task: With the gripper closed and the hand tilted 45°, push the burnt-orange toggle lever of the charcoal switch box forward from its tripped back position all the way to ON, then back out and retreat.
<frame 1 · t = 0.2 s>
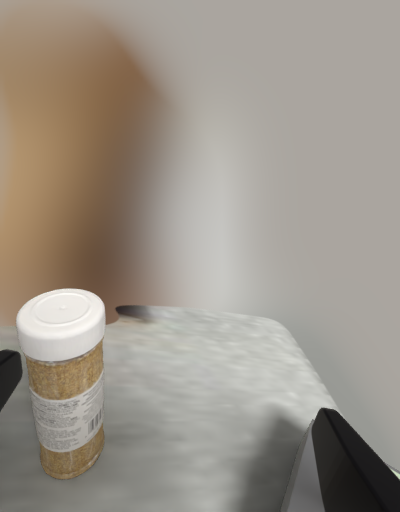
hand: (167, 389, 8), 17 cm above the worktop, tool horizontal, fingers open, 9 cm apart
sprinkles bottle: (73, 450, 21), on the worktop
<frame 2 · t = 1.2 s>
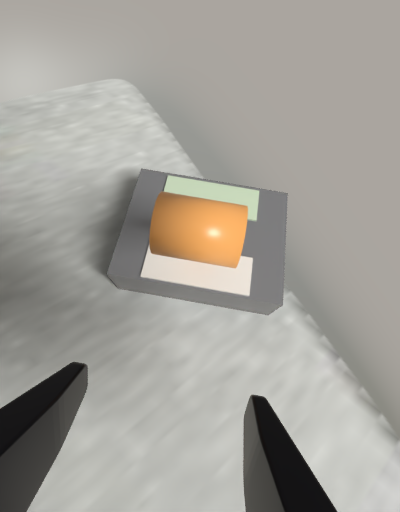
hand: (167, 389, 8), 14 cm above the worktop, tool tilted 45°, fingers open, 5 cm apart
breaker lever: (202, 232, 15), point 9 cm above the worktop, hinge at -28.0°
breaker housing: (201, 254, 25), on the worktop
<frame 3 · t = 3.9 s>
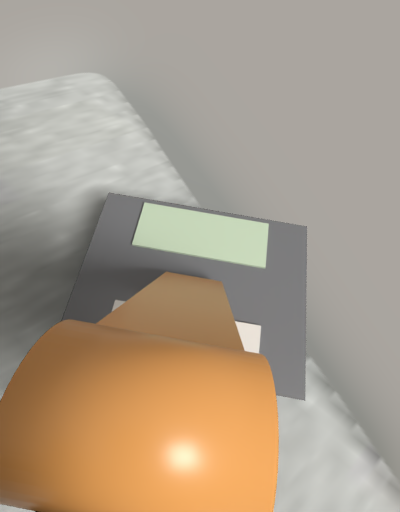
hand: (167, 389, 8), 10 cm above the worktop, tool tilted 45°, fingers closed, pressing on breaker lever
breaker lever: (181, 321, 9), point 9 cm above the worktop, hinge at -26.7°, touching gripper
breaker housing: (190, 305, 19), on the worktop
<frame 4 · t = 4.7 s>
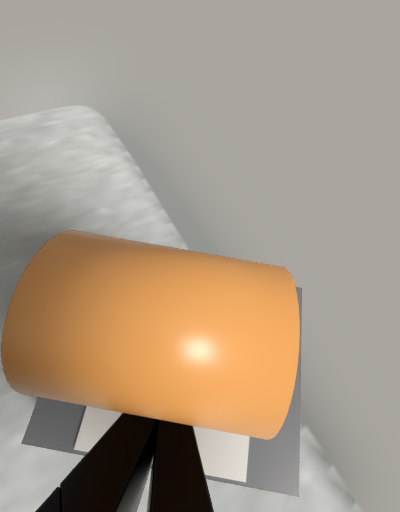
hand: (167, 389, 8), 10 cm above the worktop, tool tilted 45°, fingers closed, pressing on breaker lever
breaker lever: (174, 354, 8), point 10 cm above the worktop, hinge at 2.0°, touching gripper
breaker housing: (179, 366, 18), on the worktop
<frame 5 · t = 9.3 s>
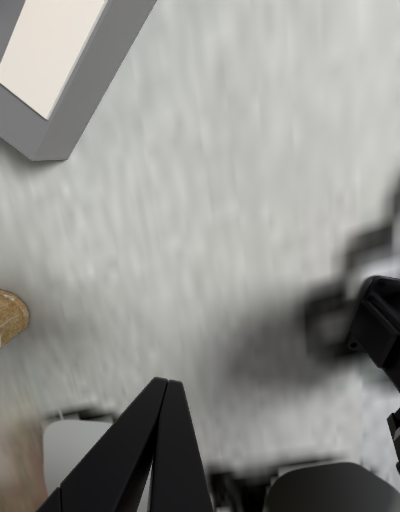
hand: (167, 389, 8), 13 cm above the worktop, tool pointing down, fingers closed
sprinkles bottle: (9, 309, 24), on the worktop
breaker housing: (52, 16, 16), on the worktop
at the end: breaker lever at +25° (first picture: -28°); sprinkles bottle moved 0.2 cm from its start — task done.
